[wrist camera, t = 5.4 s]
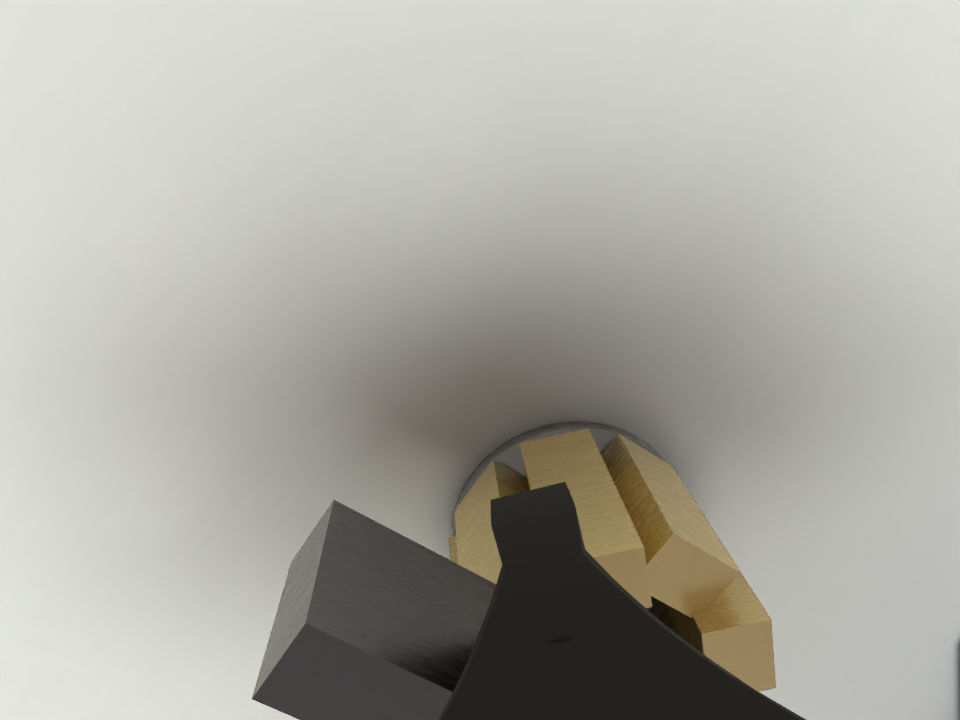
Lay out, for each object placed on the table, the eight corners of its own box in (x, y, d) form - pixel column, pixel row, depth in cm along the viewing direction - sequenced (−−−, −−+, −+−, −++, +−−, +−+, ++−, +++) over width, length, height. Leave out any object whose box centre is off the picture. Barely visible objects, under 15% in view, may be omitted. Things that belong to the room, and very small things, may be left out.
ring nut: (738, 506, 15) (939, 780, 9) (596, 669, 17) (691, 1004, 11) (412, 307, 13) (398, 490, 7) (279, 510, 15) (174, 808, 9)
